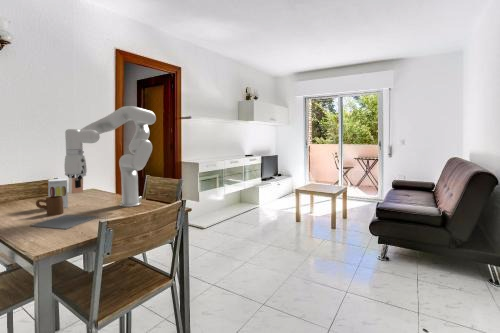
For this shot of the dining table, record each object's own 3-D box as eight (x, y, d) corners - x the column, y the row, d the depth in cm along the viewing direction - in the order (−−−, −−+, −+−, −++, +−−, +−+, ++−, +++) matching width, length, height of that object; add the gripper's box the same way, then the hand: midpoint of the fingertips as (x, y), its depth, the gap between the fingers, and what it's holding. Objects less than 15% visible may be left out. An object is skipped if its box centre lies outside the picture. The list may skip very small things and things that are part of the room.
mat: (66, 215, 152) (66, 214, 152) (98, 217, 148) (98, 216, 148) (30, 226, 133) (30, 225, 133) (66, 229, 129) (66, 228, 129)
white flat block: (79, 192, 154) (79, 177, 154) (82, 192, 154) (83, 177, 154) (68, 193, 148) (68, 178, 148) (72, 193, 147) (72, 178, 147)
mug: (37, 218, 146) (35, 200, 146) (36, 215, 152) (35, 197, 151) (64, 214, 154) (63, 197, 153) (62, 211, 160) (61, 195, 159)
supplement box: (49, 210, 163) (47, 181, 162) (48, 207, 171) (47, 179, 169) (68, 207, 169) (67, 179, 167) (67, 204, 176) (66, 178, 175)
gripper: (92, 152, 151) (94, 187, 153) (67, 152, 155) (69, 185, 156) (81, 153, 144) (83, 189, 145) (55, 152, 147) (57, 187, 149)
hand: (75, 187), depth 151 cm, fingers closed on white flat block, 2 cm apart
